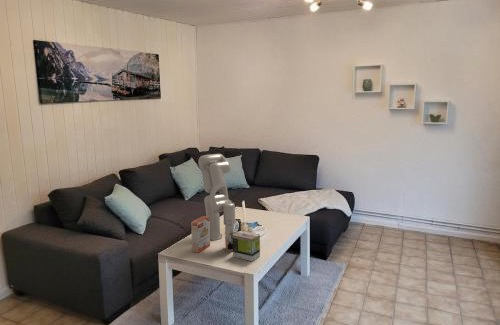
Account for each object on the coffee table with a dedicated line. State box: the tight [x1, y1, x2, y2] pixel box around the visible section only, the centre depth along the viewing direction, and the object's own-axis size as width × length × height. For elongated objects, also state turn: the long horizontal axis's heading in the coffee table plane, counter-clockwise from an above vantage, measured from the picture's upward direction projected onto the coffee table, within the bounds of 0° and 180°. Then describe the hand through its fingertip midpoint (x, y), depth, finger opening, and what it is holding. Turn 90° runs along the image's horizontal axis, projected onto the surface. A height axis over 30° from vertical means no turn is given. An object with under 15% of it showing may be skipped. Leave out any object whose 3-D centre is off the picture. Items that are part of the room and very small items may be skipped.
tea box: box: [232, 230, 261, 262], centre depth 245 cm, size 15×10×15 cm
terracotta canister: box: [224, 237, 233, 253], centre depth 256 cm, size 6×6×9 cm
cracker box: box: [190, 215, 211, 254], centre depth 257 cm, size 14×6×21 cm, turn 153°
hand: (229, 246), depth 256 cm, fingers open, 6 cm apart
